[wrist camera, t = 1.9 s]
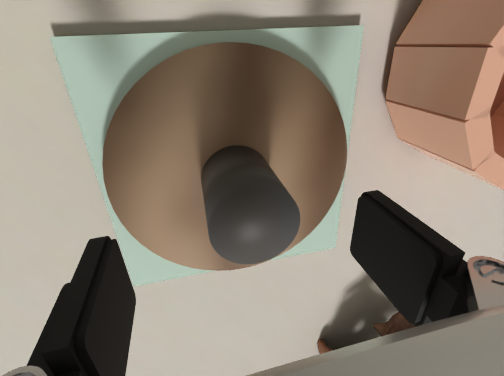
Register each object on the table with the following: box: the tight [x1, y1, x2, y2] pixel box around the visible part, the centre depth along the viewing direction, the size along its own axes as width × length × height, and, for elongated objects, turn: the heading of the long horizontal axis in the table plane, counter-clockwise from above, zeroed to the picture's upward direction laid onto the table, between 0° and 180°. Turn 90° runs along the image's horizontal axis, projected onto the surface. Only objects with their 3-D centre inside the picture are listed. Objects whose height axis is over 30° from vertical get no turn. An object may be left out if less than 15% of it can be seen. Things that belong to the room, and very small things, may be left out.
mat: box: [50, 25, 364, 286], centre depth 17 cm, size 15×15×1 cm
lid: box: [102, 42, 347, 271], centre depth 14 cm, size 14×14×6 cm
